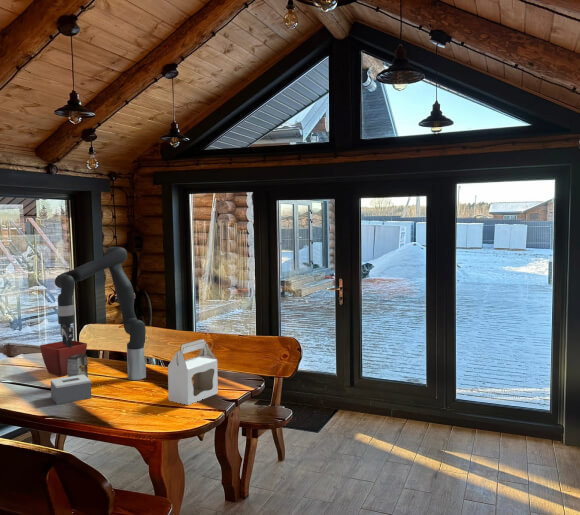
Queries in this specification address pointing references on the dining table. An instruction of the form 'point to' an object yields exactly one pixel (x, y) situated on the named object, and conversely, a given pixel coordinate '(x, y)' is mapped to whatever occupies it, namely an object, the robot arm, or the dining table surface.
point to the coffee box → (77, 365)
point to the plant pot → (60, 355)
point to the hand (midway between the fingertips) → (67, 345)
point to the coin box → (70, 389)
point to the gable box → (185, 369)
